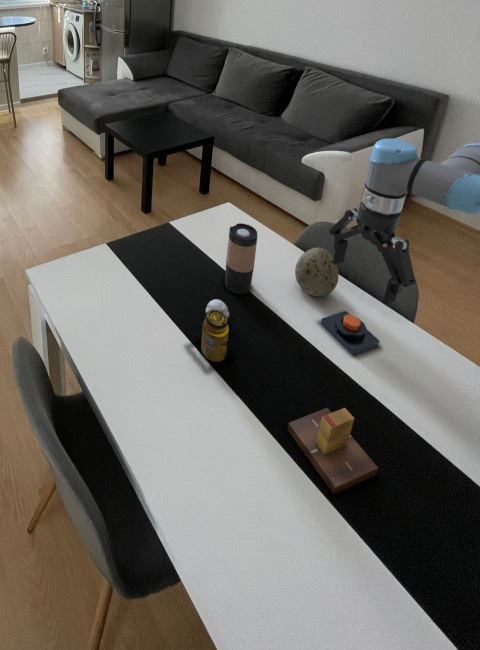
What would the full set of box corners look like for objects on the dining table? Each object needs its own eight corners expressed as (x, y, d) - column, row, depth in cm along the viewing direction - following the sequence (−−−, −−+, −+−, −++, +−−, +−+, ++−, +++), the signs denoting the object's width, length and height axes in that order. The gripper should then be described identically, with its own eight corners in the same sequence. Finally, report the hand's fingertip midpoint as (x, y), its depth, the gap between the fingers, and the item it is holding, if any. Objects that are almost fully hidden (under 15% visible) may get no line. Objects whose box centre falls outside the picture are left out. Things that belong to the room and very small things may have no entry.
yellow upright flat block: (337, 433, 86) (345, 406, 83) (347, 445, 84) (354, 417, 81) (315, 443, 85) (322, 415, 82) (324, 454, 83) (331, 427, 80)
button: (362, 328, 107) (364, 323, 107) (351, 332, 106) (352, 327, 106) (350, 317, 111) (351, 312, 110) (339, 321, 110) (340, 316, 109)
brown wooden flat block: (375, 475, 81) (378, 467, 80) (333, 495, 79) (335, 486, 78) (325, 415, 92) (327, 406, 91) (286, 430, 90) (288, 422, 89)
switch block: (378, 347, 106) (381, 335, 105) (352, 356, 104) (355, 344, 103) (344, 316, 115) (347, 305, 114) (320, 324, 113) (322, 313, 112)
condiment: (233, 358, 106) (237, 322, 101) (206, 372, 103) (209, 336, 98) (213, 336, 112) (216, 301, 107) (187, 349, 109) (189, 313, 104)
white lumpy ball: (204, 329, 114) (206, 310, 111) (205, 309, 120) (206, 290, 117) (228, 334, 112) (230, 314, 110) (227, 313, 118) (229, 294, 116)
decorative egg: (343, 300, 120) (353, 258, 115) (310, 309, 118) (319, 266, 112) (314, 274, 130) (322, 234, 124) (284, 282, 128) (290, 241, 122)
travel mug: (251, 298, 123) (258, 241, 115) (223, 292, 125) (228, 237, 118) (250, 279, 129) (257, 225, 122) (224, 274, 132) (229, 221, 124)
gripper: (321, 182, 104) (308, 252, 112) (425, 244, 82) (400, 325, 90) (345, 176, 106) (331, 245, 114) (453, 235, 84) (426, 315, 92)
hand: (361, 281), depth 102 cm, fingers open, 13 cm apart
